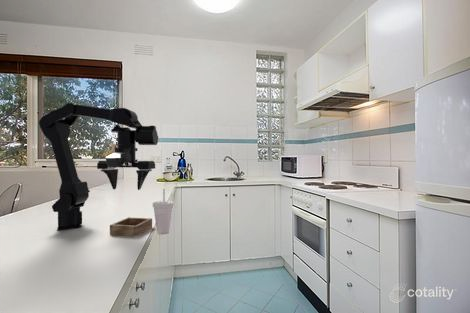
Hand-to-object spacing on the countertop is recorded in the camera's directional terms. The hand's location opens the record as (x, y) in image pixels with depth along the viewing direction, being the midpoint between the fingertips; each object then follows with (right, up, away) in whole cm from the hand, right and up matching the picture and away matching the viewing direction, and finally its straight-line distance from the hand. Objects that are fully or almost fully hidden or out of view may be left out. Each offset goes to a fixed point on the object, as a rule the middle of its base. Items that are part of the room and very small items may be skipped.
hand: (126, 189), depth 82 cm
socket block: (+4, -13, -5) cm, 14 cm away
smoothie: (+15, -13, -7) cm, 21 cm away
